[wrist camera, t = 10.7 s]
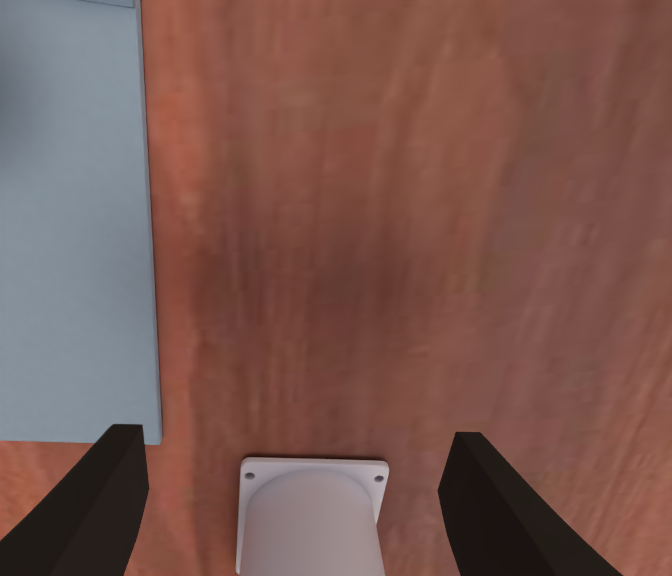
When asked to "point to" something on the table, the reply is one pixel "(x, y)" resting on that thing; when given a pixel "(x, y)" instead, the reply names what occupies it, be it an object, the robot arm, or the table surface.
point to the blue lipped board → (75, 224)
